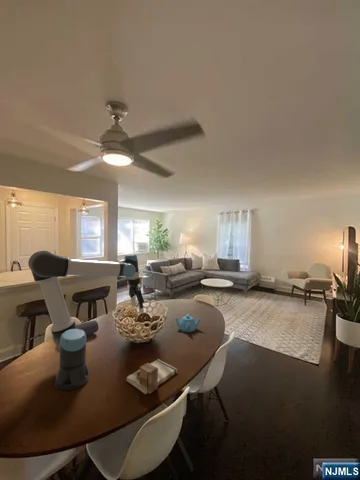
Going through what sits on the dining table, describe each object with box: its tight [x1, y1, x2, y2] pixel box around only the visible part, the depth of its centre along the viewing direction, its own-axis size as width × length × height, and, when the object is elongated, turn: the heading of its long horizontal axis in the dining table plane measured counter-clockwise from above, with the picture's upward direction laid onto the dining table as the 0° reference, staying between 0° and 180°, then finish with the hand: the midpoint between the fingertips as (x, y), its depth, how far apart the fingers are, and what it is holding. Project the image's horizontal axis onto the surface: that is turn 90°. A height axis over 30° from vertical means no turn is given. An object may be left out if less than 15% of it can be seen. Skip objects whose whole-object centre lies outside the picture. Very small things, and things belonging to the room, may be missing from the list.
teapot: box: [174, 313, 201, 333], centre depth 176 cm, size 15×15×11 cm
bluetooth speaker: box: [76, 320, 100, 338], centre depth 155 cm, size 23×9×10 cm, turn 143°
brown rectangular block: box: [136, 362, 159, 394], centre depth 108 cm, size 5×12×10 cm, turn 51°
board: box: [126, 358, 178, 395], centre depth 116 cm, size 22×14×2 cm, turn 141°
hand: (137, 309), depth 147 cm, fingers open, 13 cm apart
